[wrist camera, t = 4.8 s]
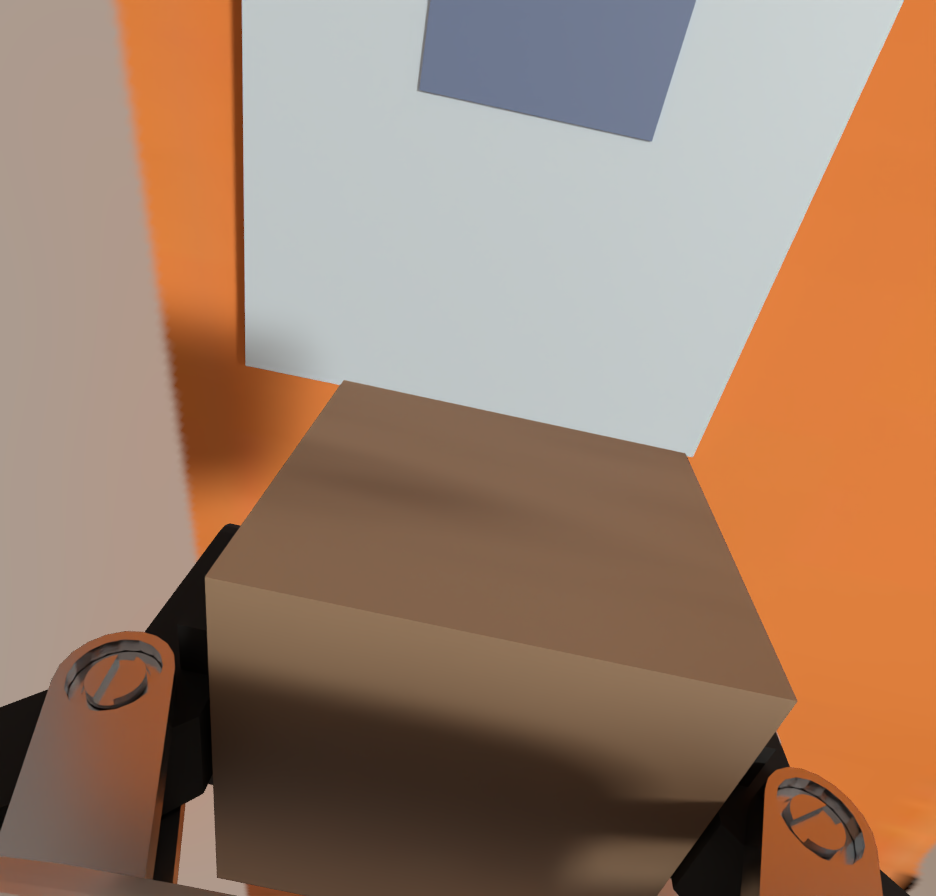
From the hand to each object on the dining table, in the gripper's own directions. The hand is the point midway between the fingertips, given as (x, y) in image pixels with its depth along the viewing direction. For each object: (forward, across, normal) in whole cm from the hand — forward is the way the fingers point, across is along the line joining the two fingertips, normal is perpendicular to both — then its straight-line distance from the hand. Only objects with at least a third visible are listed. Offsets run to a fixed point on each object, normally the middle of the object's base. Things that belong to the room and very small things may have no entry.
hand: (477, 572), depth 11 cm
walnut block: (+1, 0, 0) cm, 1 cm away
